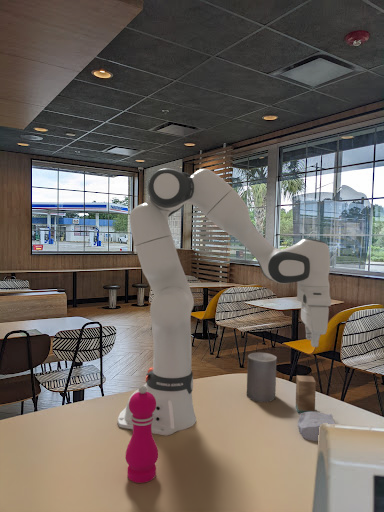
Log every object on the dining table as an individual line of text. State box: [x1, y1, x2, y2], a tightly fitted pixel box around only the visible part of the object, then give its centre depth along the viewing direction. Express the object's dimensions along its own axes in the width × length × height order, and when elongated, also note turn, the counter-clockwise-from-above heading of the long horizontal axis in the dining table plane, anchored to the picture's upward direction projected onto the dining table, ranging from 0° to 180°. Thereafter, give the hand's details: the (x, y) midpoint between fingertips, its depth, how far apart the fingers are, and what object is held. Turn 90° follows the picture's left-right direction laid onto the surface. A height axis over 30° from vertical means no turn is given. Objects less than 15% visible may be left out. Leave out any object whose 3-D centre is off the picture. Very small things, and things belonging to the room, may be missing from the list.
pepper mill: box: [125, 385, 159, 484], centre depth 86 cm, size 7×7×20 cm
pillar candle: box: [246, 351, 278, 403], centre depth 131 cm, size 10×10×15 cm
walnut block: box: [295, 375, 317, 414], centre depth 120 cm, size 5×5×10 cm
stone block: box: [297, 411, 336, 442], centre depth 108 cm, size 12×5×10 cm
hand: (311, 342), depth 112 cm, fingers open, 6 cm apart
